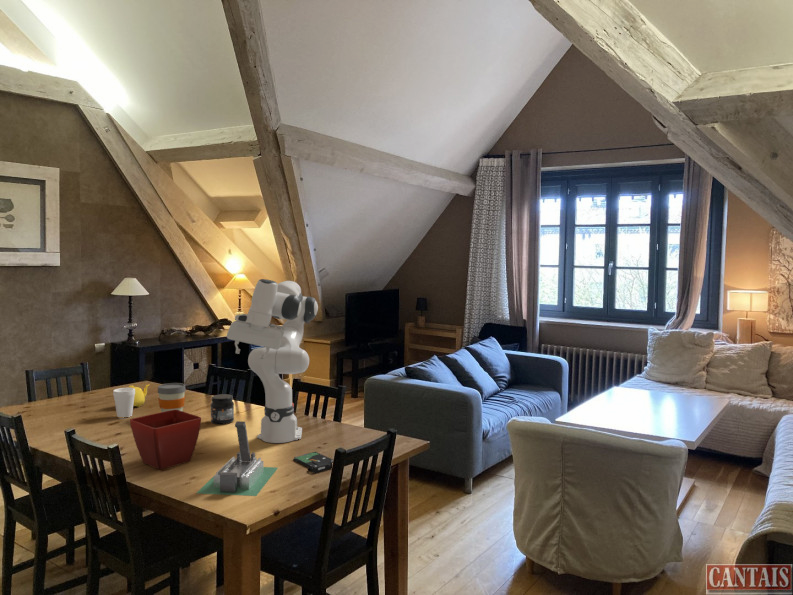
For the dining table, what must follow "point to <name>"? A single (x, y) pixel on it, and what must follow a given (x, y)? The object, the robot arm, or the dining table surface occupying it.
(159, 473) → the dining table surface
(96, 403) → the dining table surface
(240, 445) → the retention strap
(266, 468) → the circuit board
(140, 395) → the teapot
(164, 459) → the plant pot
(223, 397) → the supplement container
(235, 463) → the heat sink
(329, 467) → the disk drive
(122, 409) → the foam cup
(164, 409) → the reusable coffee cup
